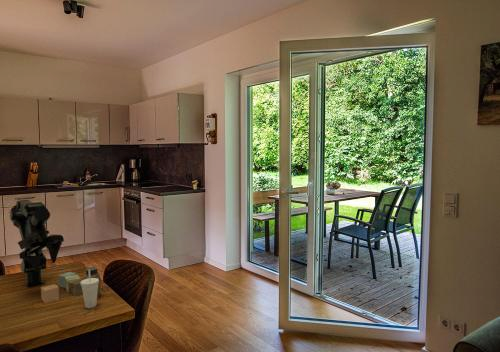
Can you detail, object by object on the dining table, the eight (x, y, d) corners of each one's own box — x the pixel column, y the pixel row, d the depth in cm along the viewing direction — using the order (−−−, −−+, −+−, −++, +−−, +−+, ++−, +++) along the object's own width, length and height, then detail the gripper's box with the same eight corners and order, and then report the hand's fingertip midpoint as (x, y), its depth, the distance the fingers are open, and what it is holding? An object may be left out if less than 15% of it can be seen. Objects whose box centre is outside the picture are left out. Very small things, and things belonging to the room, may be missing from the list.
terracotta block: (41, 299, 145) (40, 287, 145) (55, 296, 148) (54, 283, 148) (45, 303, 141) (44, 290, 141) (59, 299, 145) (58, 287, 144)
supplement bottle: (94, 299, 144) (93, 271, 143) (81, 298, 145) (79, 270, 144) (103, 293, 149) (102, 266, 149) (90, 293, 151) (89, 265, 150)
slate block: (59, 286, 159) (58, 275, 158) (69, 282, 163) (69, 271, 163) (67, 288, 156) (66, 277, 156) (77, 284, 161) (76, 273, 160)
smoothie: (82, 311, 134) (80, 273, 132) (81, 304, 139) (79, 268, 138) (101, 307, 136) (99, 270, 135) (99, 301, 142) (97, 265, 141)
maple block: (65, 288, 156) (65, 277, 156) (78, 286, 159) (77, 274, 158) (67, 292, 152) (66, 280, 151) (80, 289, 155) (80, 278, 154)
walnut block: (68, 293, 150) (68, 281, 150) (80, 290, 154) (80, 278, 154) (75, 296, 147) (74, 284, 147) (87, 292, 151) (86, 280, 151)
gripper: (3, 239, 147) (10, 277, 142) (36, 220, 142) (44, 258, 137) (29, 240, 157) (36, 275, 152) (60, 221, 152) (68, 257, 147)
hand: (45, 267), depth 147 cm, fingers open, 9 cm apart
